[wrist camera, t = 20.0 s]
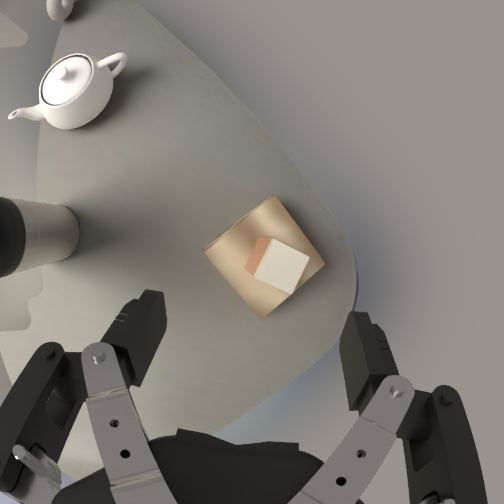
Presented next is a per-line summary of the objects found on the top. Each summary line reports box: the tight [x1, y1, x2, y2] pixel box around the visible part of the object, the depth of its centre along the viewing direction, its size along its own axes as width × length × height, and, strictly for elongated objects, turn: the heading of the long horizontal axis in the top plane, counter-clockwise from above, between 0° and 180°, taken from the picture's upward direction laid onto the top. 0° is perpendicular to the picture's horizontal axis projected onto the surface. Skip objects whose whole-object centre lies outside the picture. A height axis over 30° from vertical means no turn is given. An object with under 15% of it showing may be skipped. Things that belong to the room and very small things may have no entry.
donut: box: [47, 0, 74, 21], centre depth 30 cm, size 10×3×10 cm, turn 2°
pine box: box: [203, 196, 325, 320], centre depth 45 cm, size 13×13×6 cm
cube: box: [244, 237, 310, 295], centre depth 38 cm, size 5×5×8 cm
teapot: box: [8, 53, 128, 129], centre depth 34 cm, size 22×14×11 cm, turn 114°
